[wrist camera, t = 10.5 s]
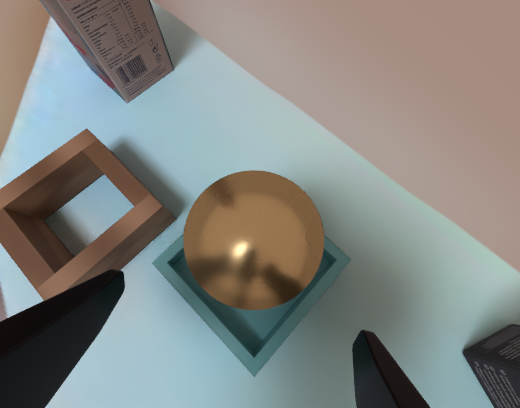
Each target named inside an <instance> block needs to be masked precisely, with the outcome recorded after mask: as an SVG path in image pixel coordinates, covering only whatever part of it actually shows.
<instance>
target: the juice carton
mask: <svg viewBox="0 0 520 408" xmlns="http://www.w3.org/2000/svg"><path fill="white" fill-rule="evenodd" d="M40 2H41V3H42V4H43V6H44V7H45V8H46V10H47V11H48V13H49V14H50V15H51V17H52V18H53V19H54V21H55V22H56V23H57V25H58V26H59V27H60V29H61V30H62V31H63V33H64V34H65V35H66V37H67V38H68V39H69V41H70V42H71V43H72V45H73V46H74V47H75V49H76V50H77V52H78V53H79V54H80V56H81V57H82V58H83V60H84V61H85V62H86V64H87V65H88V66H89V68H90V69H91V70H92V71H93V72H94V73H95V74H96V75H98V76H99V77H100V78H101V79H102V80H103V81H104V82H105V83H106V84H107V85H108V86H109V87H110V88H111V89H113V90H114V91H115V92H116V93H117V94H118V95H119V96H120V97H121V98H122V99H123V100H124V101H125V102H126V103H128V102H130V101H131V100H133V99H134V98H135V97H137V96H138V95H139V94H141V93H142V92H144V91H145V90H146V89H148V88H149V87H151V86H152V85H153V84H155V83H156V82H158V81H159V80H160V79H162V78H163V77H164V76H166V75H167V74H169V73H170V72H171V71H173V70H174V67H173V64H172V61H171V59H170V56H169V53H168V50H167V47H166V45H165V42H164V39H163V36H162V33H161V30H160V28H159V25H158V22H157V19H156V16H155V14H154V11H153V8H152V5H151V2H150V0H40Z"/></svg>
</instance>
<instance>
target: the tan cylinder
mask: <svg viewBox="0 0 520 408" xmlns="http://www.w3.org/2000/svg"><path fill="white" fill-rule="evenodd" d="M183 243H184V252H185V257H186V261H187V264H188V266H189V269H190V271H191V273H192V275H193V276H194V278H195V280H196V281H197V282H198V284H199V285H200V286H201V287H202V288H203V289H204V290H205V291H206V292H207V293H208V294H209V295H210V296H212V297H213V298H215V299H216V300H218V301H220V302H222V303H224V304H226V305H228V306H231V307H234V308H238V309H244V310H263V309H269V308H273V307H277V306H279V305H281V304H284V303H286V302H288V301H289V300H291V299H293V298H294V297H296V296H297V295H298V294H299V293H301V292H302V291H303V290H304V289H305V288H306V287H307V286H308V284H309V283H310V282H311V280H312V279H313V277H314V276H315V274H316V272H317V270H318V268H319V265H320V262H321V260H322V255H323V251H324V231H323V225H322V221H321V218H320V215H319V213H318V211H317V209H316V207H315V205H314V203H313V202H312V200H311V199H310V198H309V197H308V195H307V194H306V193H305V192H304V191H303V190H302V189H301V188H300V187H299V186H297V185H296V184H295V183H293V182H292V181H290V180H288V179H286V178H284V177H282V176H280V175H277V174H274V173H270V172H265V171H242V172H237V173H234V174H231V175H228V176H226V177H223V178H221V179H219V180H218V181H216V182H215V183H213V184H212V185H210V186H209V187H208V188H207V189H206V190H205V191H204V192H203V193H202V194H201V195H200V196H199V197H198V199H197V200H196V201H195V203H194V204H193V206H192V208H191V210H190V212H189V215H188V217H187V220H186V224H185V228H184V236H183Z"/></svg>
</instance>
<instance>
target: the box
mask: <svg viewBox="0 0 520 408" xmlns="http://www.w3.org/2000/svg"><path fill="white" fill-rule="evenodd" d="M463 354H464V356H465V358H466V360H467V361H468V363H469V365H470V366H471V368H472V370H473V371H474V373H475V375H476V377H477V378H478V380H479V382H480V384H481V385H482V387H483V389H484V390H485V392H486V394H487V395H488V397H489V399H490V400H491V402H492V404H493V406H494V407H495V408H520V325H515V324H511V325H509V326H507V327H505V328H503V329H502V330H500V331H498V332H497V333H495V334H493V335H491V336H490V337H488V338H486V339H484V340H482V341H481V342H479V343H477V344H475V345H473V346H471V347H470V348H468V349H466V350H464V351H463Z"/></svg>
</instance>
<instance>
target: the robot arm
mask: <svg viewBox="0 0 520 408" xmlns="http://www.w3.org/2000/svg"><path fill="white" fill-rule="evenodd" d="M124 289H125V283H124V273H123V271H120V270H116V269H110V270H108V271H105V272H103V273H101V274H99V275H97V276H95V277H93V278H91V279H89V280H87V281H85V282H82V283H80V284H78V285H76V286H74V287H72V288H70V289H68V290H66V291H64V292H62V293H59V294H57V295H55V296H53V297H51V298H49V299H47V300H45V301H43V302H41V303H39V304H36V305H34V306H32V307H30V308H28V309H26V310H24V311H22V312H20V313H18V314H16V315H13V316H11V317H9V318H7V319H5V320H3V321H1V322H0V408H45V407H46V406H47V404H48V403H49V402H50V400H51V399H52V397H53V396H54V395H55V393H56V392H57V390H58V389H59V388H60V386H61V385H62V384H63V382H64V381H65V379H66V378H67V377H68V375H69V374H70V373H71V371H72V370H73V368H74V367H75V366H76V364H77V363H78V362H79V360H80V359H81V357H82V356H83V355H84V353H85V352H86V351H87V349H88V348H89V346H90V345H91V344H92V342H93V341H94V340H95V338H96V337H97V335H98V334H99V332H100V331H101V329H102V328H103V326H104V324H105V323H106V321H107V319H108V318H109V316H110V314H111V312H112V311H113V309H114V307H115V306H116V304H117V302H118V301H119V299H120V297H121V295H122V294H123V292H124ZM352 351H353V368H354V386H355V398H356V405H357V408H430V406H429V405H428V404H427V402H426V401H425V400H424V398H423V397H422V396H421V395H420V393H419V392H418V391H417V389H416V388H415V387H414V385H413V384H412V383H411V381H410V380H409V379H408V377H407V376H406V375H405V373H404V372H403V371H402V369H401V368H400V367H399V365H398V364H397V363H396V361H395V360H394V359H393V357H392V356H391V355H390V353H389V352H388V351H387V349H386V348H385V347H384V345H383V344H382V343H381V341H380V340H379V339H378V337H377V336H376V335H375V334H374V333H373V332H370V331H366V330H361V331H360V333H359V334H358V336H357V338H356V340H355V341H354V343H353V349H352Z"/></svg>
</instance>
